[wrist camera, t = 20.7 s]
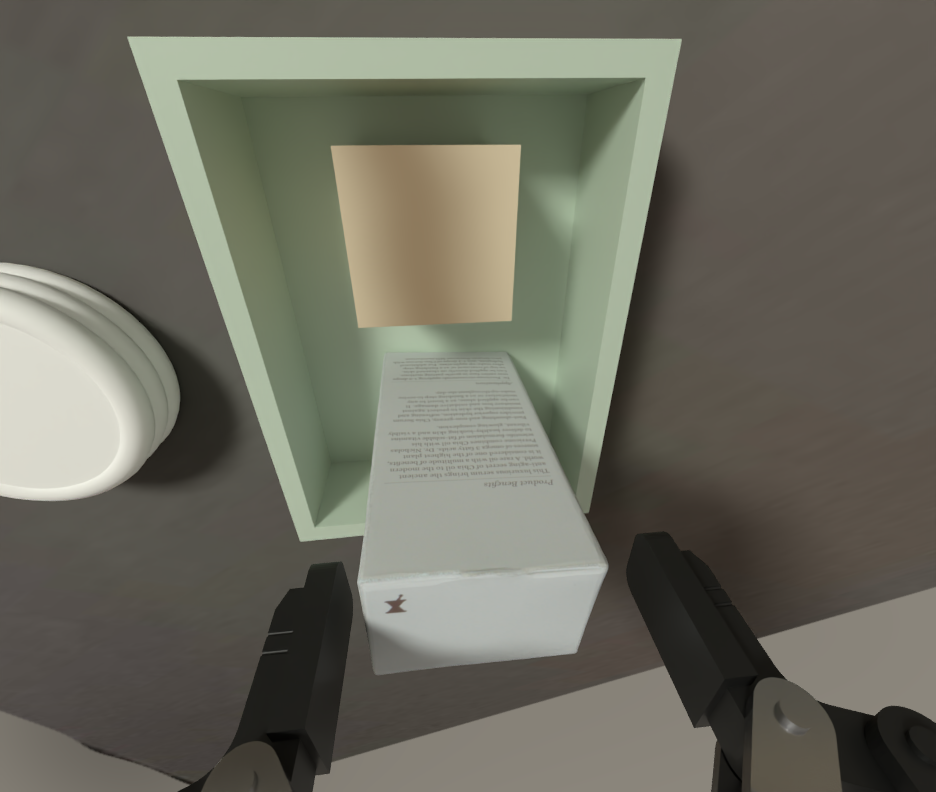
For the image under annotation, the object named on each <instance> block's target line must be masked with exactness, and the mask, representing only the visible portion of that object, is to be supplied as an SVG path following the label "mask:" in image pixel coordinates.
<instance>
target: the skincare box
mask: <svg viewBox="0 0 936 792" xmlns="http://www.w3.org/2000/svg"><path fill="white" fill-rule="evenodd" d="M607 571H608V561H607V559H606V557H605V555H604V553H603V551H602V549H601V547H600V545H599V543H598V541H597V539H596V537H595V535H594V533H593V531H592V529H591V527H590V525H589V522H588V520H587V518H586V516H585V514H584V512H583V510H582V508H581V506H580V504H579V502H578V500H577V497H576V495H575V493H574V491H573V489H572V487H571V485H570V483H569V481H568V479H567V477H566V475H565V473H564V470H563V468H562V466H561V464H560V462H559V460H558V457H557V455H556V453H555V451H554V449H553V447H552V445H551V443H550V440H549V438H548V436H547V434H546V432H545V430H544V428H543V426H542V424H541V422H540V419H539V417H538V415H537V413H536V411H535V408H534V406H533V404H532V402H531V400H530V398H529V396H528V393H527V391H526V389H525V387H524V385H523V383H522V381H521V378H520V376H519V374H518V372H517V370H516V368H515V366H514V364H513V361H512V359H511V357H510V355H509V354H508V353H507V352H387V353H385V355H384V360H383V367H382V377H381V386H380V395H379V404H378V411H377V419H376V429H375V437H374V446H373V455H372V465H371V473H370V483H369V492H368V501H367V511H366V522H365V532H364V539H363V546H362V553H361V561H360V568H359V575H358V581H357V584H358V589H359V594H360V599H361V604H362V609H363V615H364V620H365V626H366V632H367V637H368V643H369V649H370V655H371V661H372V667H373V671H374V673H375V674H376V675H383V674H390V673H398V672H405V671H413V670H422V669H430V668H438V667H447V666H456V665H467V664H479V663H488V662H498V661H508V660H516V659H527V658H536V657H543V656H555V655H564V654H574V653H576V652H577V650H578V647H579V644H580V641H581V638H582V636H583V633H584V630H585V627H586V624H587V621H588V618H589V616H590V613H591V611H592V608H593V605H594V603H595V600H596V598H597V595H598V593H599V590H600V588H601V585H602V583H603V580H604V578H605V576H606V573H607Z"/></svg>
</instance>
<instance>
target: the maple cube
mask: <svg viewBox="0 0 936 792" xmlns="http://www.w3.org/2000/svg"><path fill="white" fill-rule="evenodd" d="M331 152H332V158H333V165H334V171H335V178H336V184H337V191H338V197H339V204H340V211H341V217H342V224H343V230H344V237H345V243H346V250H347V256H348V263H349V269H350V276H351V283H352V289H353V296H354V302H355V309H356V315H357V322H358V328H368V327H390V326H412V325H433V324H455V323H477V322H498V321H512V304H513V285H514V267H515V248H516V229H517V211H518V192H519V173H520V155H521V145H345V146H331Z"/></svg>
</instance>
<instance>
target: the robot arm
mask: <svg viewBox="0 0 936 792" xmlns="http://www.w3.org/2000/svg"><path fill="white" fill-rule="evenodd" d="M626 574H627V581H628V585H629V588H630V591H631V593H632V595H633V597H634V599H635V602H636V604H637V606H638V608H639V610H640V612H641V615H642V617H643V619H644V621H645V623H646V625H647V627H648V630H649V632H650V634H651V636H652V638H653V640H654V643H655V645H656V647H657V649H658V651H659V653H660V655H661V658H662V660H663V662H664V664H665V666H666V668H667V670H668V673H669V675H670V677H671V679H672V681H673V683H674V685H675V688H676V690H677V692H678V694H679V696H680V698H681V701H682V703H683V705H684V707H685V709H686V711H687V713H688V716H689V718H690V720H691V722H692V724H693V727H694V728H698V727H706V726H711V728H712V730H713V732H714V734H715V736H716V738H717V742H716V747H715V758H714V768H713V779H712V790H711V792H936V723H934V722H933V721H932V720H930V719H929V718H927V717H925V716H923V715H922V714H920V713H918V712H916V711H913V710H911V709H908V708H905V707H899V706H888V707H885V708H883V709H882V710H881V711H880V712H878V713H877V714H876V715H875V716H873V715H869V714H865V713H861V712H856V711H852V710H848V709H843V708H840V707H836V706H831V705H828V704H825V703H822V702H819V701H817V700H815V699H814V698H813V697H812V696H811V695H810V694H809V693H808V692H806V691H805V690H804V689H802V688H801V687H799V686H798V685H796V684H794V683H792V682H790V681H787V679H785V677H784V676H783V675H782V674H781V673H780V672H779V671H778V669H777V668H776V667H775V665H774V664H773V662H772V661H771V659H770V658H769V656H768V655H767V653H766V652H765V650H764V649H763V648H762V646H761V644H760V643H759V642H758V640H757V638H756V637H755V636H754V634H753V633H752V631H751V630H750V628H749V627H748V625H747V624H746V622H745V621H744V619H743V618H742V616H741V615H740V613H739V612H738V610H737V609H736V607H735V606H733V605H732V603H731V602H732V601H731V600H730V598H729V597H728V595H727V594H726V592H725V591H724V589H721V585H720V584H719V582H718V581H717V579H716V578H715V576H714V575H713V573H712V572H711V570H710V569H709V567H708V566H707V565H706V564H705V563H704V562H702V561H701V560H700V559H699V558H698V557H697V556H695V555H694V554H693V553H692V552H691V551H690V550H687V551H680V550H679V548H678V547H677V545H676V543H675V542H674V540H673V539H672V537H671V536H670V535H669V534H668V533H667V532H654V533H643V534H637V535H636V537H635V540H634V543H633V547H632V550H631V554H630V557H629V561H628V564H627V569H626ZM352 616H353V599H352V593H351V590H350V586H349V583H348V580H347V576H346V573H345V569H344V566H343V563H342V562H331V563H321V564H313V565H311V567H310V569H309V571H308V575H307V579H306V582H305V586H304V588H295V589H290V590H289V591H288V592H287V594H286V595H285V597H284V598H283V600H282V601H281V602H280V604H279V605H278V607H277V608H276V609H275V612H274V616H273V619H272V622H271V625H270V628H269V632H268V633H269V634H268V637H267V638H266V641H265V644H264V648H263V651H262V652H263V654H262V656H261V657H260V660H259V663H258V667H257V670H256V673H255V676H254V679H253V683H252V686H251V689H250V692H249V695H248V699H247V702H246V705H245V708H244V711H243V715H242V718H241V721H240V724H239V727H238V730H237V733H236V735H235V738H234V740H233V742H232V744H231V746H230V747H229V749H228V750H227V752H226V753H225V755H224V756H223V757H222V759H221V760H220V761H219V762H218V763H217V764H216V766H215V767H214V768H213V769H212V770H211V771H209V772H208V773H207V774H206V775H205V776H204V777H202V778H201V779H199V780H198V781H197V782H195V783H193V784H191V785H190V786H188V787H186V788H184V789H182V790H180V791H178V792H312V791H313V785H314V779H315V775H322V774H329V773H330V768H331V761H332V754H333V747H334V740H335V733H336V727H337V720H338V713H339V706H340V699H341V692H342V686H343V679H344V672H345V665H346V658H347V651H348V645H349V638H350V631H351V624H352Z"/></svg>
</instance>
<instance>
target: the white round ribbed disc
mask: <svg viewBox="0 0 936 792" xmlns="http://www.w3.org/2000/svg"><path fill="white" fill-rule="evenodd" d="M179 406H180V388H179V384H178V380H177V376H176V373H175V371H174V368H173V366H172V363H171V362H170V360H169V358H168V356H167V354H166V353H165V351H164V350H163V348H162V347H161V345H160V344H159V343H158V341H157V340H156V339H155V338H154V336H153V335H152V334H151V333H150V332H149V331H148V330H147V329H146V328H145V327H144V326H143V325H142V324H141V323H140V322H139V321H138V320H137V319H136V318H135V317H134V316H133V315H131V314H130V313H129V312H127V311H126V310H125V309H124V308H122V307H121V306H120V305H119V304H117V303H116V302H114V301H113V300H111V299H110V298H108V297H106V296H105V295H103V294H102V293H100V292H98V291H96V290H94V289H93V288H91V287H89V286H87V285H85V284H83V283H81V282H78V281H76V280H74V279H71V278H69V277H67V276H64V275H61V274H58V273H55V272H52V271H49V270H45V269H41V268H37V267H32V266H27V265H20V264H12V263H0V496H5V497H10V498H17V499H25V500H40V501H63V500H74V499H81V498H86V497H90V496H94V495H98V494H101V493H103V492H106V491H108V490H111V489H112V488H114V487H116V486H118V485H119V484H121V483H123V482H124V481H126V480H128V479H129V478H130V477H131V476H133V475H134V474H135V473H136V472H137V471H138V470H139V469H140V468H141V467H142V466H143V464H144V463H145V461H146V459H147V458H149V457H150V456H151V455H152V454H153V453H154V451H155V450H156V449H157V448H158V446H159V444H161V443H162V442H163V441H164V440H165V438H166V437H167V436H168V435H169V434H170V432H171V430H172V428H173V427H174V425H175V422H176V419H177V415H178V412H179Z"/></svg>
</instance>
